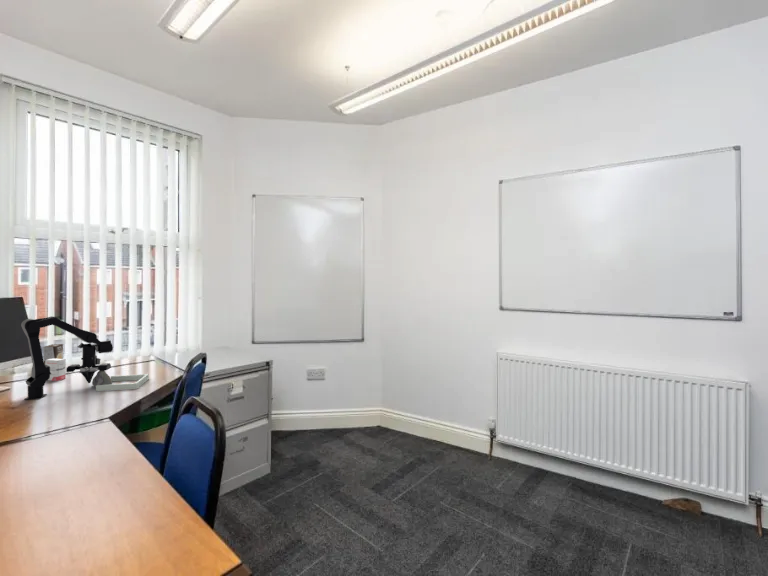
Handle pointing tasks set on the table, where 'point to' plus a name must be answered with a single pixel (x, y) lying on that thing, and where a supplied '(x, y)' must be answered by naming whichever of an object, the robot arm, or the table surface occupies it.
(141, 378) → the pale grey u-shaped frame
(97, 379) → the mineral rock
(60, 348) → the coffee box
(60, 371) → the ink box
